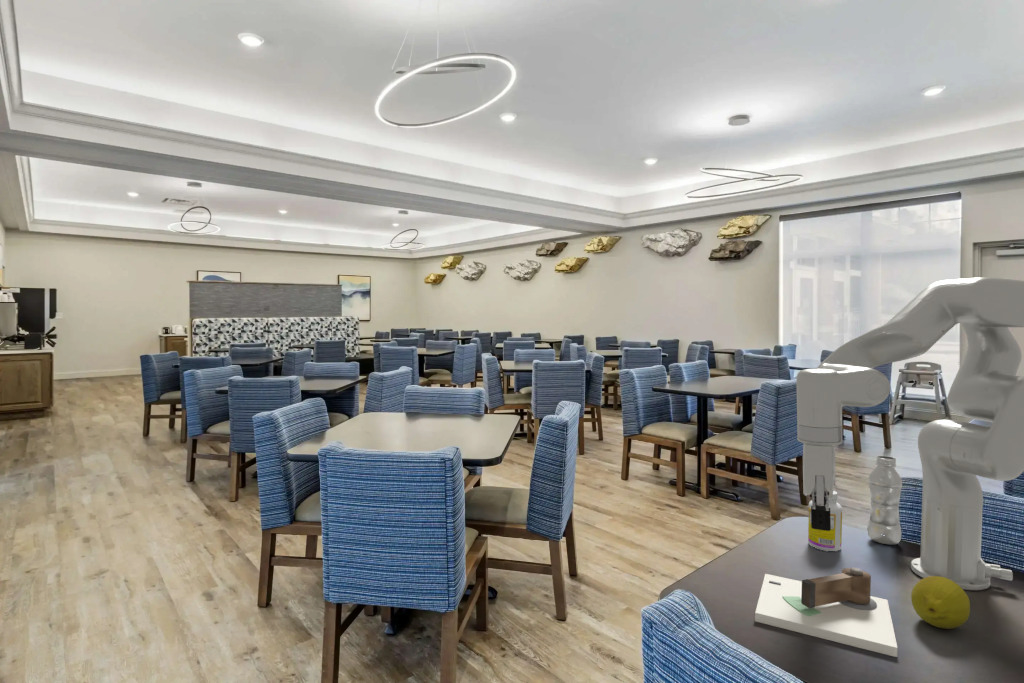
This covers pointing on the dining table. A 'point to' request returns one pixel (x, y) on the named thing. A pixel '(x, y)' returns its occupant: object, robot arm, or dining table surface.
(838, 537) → the supplement bottle
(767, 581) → the dial plate
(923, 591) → the lemon
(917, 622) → the dining table surface
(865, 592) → the walnut dial lever
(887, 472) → the plastic bottle
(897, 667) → the dining table surface
